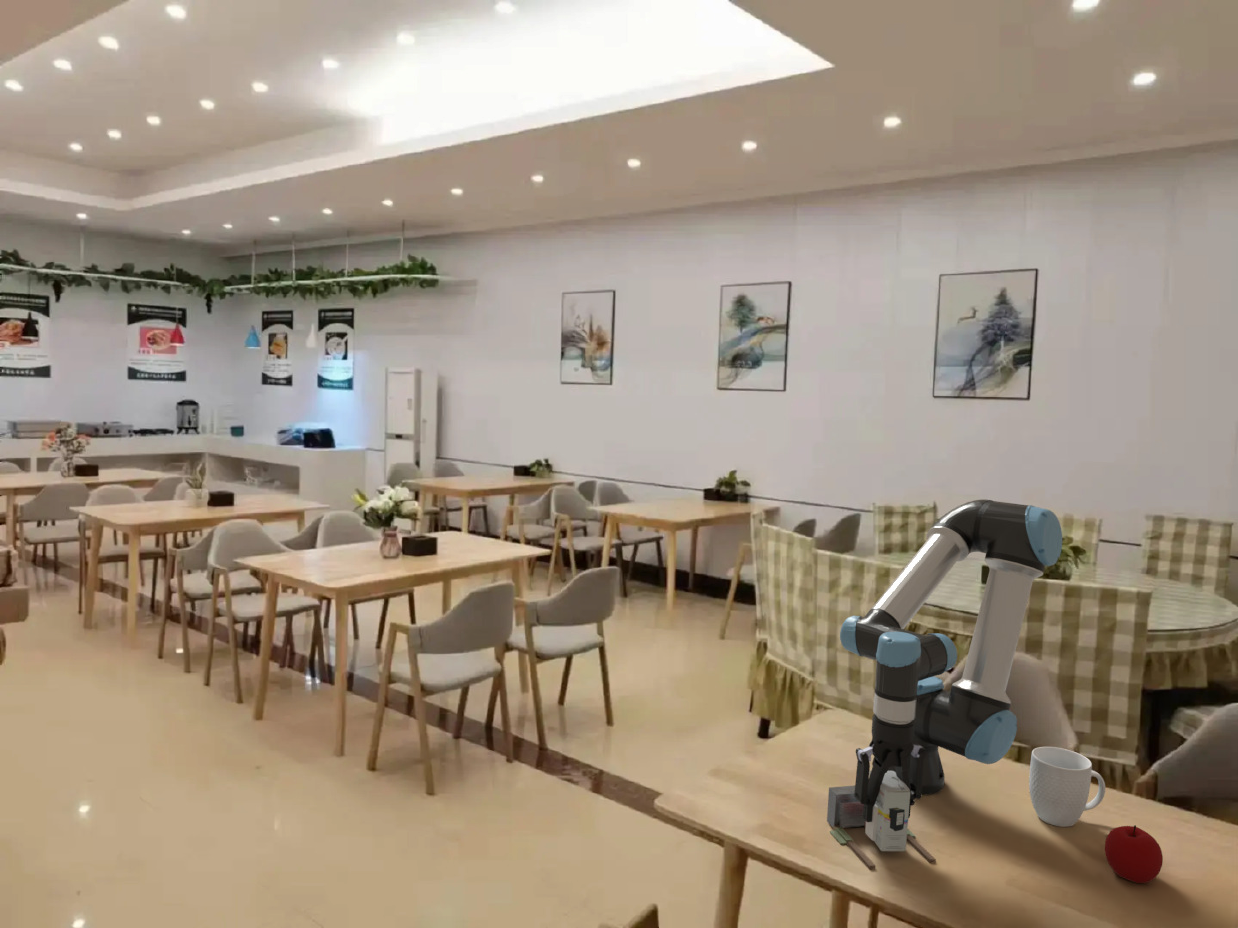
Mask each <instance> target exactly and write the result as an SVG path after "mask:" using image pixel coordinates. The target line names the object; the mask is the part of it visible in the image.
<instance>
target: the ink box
mask: <svg viewBox="0 0 1238 928" xmlns="http://www.w3.org/2000/svg"><path fill="white" fill-rule="evenodd" d="M870 773H871V770H870V771H869V777H870ZM875 804H876V805H877V806H878V807H879V808H878V822H877V836H876V841H874V843H875V844H876V846H877V847H878V848H879V850H880V851H881V852H906V850H907V841H906V840H907V828H908V826H909V818H908V816H909V804H910V789H909V788H908V787H907V785H906V784H905V783H904V782H903V781H902V780H901V779H899V778H898V777H897V776H896V773H895V772H894V771H887V773H885V775H884V778H883V781H882V784H881V785H880V790H879V793H878V796H877V799H876V802H875ZM864 828H865V829H866V823H865V826H864ZM908 829H909V828H908Z"/></svg>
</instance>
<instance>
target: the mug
mask: <svg viewBox="0 0 1238 928" xmlns="http://www.w3.org/2000/svg"><path fill="white" fill-rule="evenodd" d="M1029 763H1030V764H1029V765H1030V766H1029V777H1028V783H1029V785H1028V787H1029V788H1028V789H1029V794H1030V795H1029V796H1030V800H1031V804H1032V806H1033V809H1034V811H1035V814H1036V815H1037V816H1038V818H1040V820H1041V821H1043V822H1045V823H1046V824H1049V825H1052V826H1054V827H1061V828H1067V827H1072V826H1074V825H1075V824H1076V823H1077V822H1078V821H1079V819H1080V818H1081V816H1082V815H1083V813H1084V811H1085V812H1086V811H1090V810H1093V809H1095V808H1096V807H1098V806H1099V805H1100V804H1101V803H1102V801H1103V800H1104V798H1105V794H1106V782H1105V780H1104V778H1103V777H1102V775H1101V774H1100V773H1098V772H1097V771H1095V770H1093V764H1092V761H1091V760H1090V759H1089V758H1087V757H1086V756H1084V755H1082V754H1081V753H1079V752H1075V751H1073V750H1070V749H1066V748H1062V747H1056V746H1040V747H1036V748H1033V750H1032V751H1031V757H1030V762H1029ZM1093 777H1095V778H1096V779H1097V781H1098V789H1097V794H1096V795H1095V797H1094V798H1093V799H1092V800H1090V801H1089V802H1088V799H1089V794H1090V790H1091V789H1090V788H1091V781H1092V778H1093Z"/></svg>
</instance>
